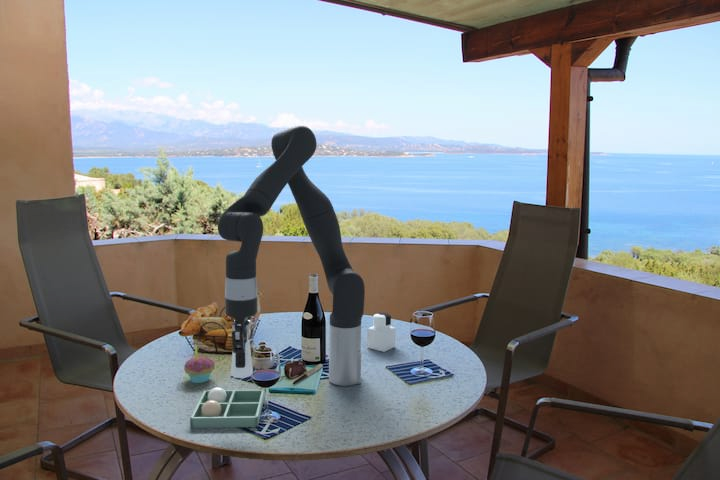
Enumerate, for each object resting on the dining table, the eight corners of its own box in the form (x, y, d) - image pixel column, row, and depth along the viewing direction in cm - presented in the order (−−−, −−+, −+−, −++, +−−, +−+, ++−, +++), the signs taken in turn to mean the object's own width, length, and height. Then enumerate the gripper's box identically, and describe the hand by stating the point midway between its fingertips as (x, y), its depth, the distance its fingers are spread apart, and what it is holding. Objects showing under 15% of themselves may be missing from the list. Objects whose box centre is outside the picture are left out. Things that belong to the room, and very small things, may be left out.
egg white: (228, 401, 144) (227, 384, 144) (225, 409, 140) (224, 391, 139) (209, 401, 144) (209, 384, 143) (205, 409, 139) (205, 392, 139)
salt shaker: (241, 368, 137) (240, 325, 135) (257, 372, 134) (257, 329, 133) (225, 375, 132) (225, 331, 131) (242, 380, 130) (242, 335, 128)
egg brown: (223, 414, 137) (222, 396, 136) (219, 423, 132) (219, 405, 131) (203, 414, 137) (203, 396, 136) (199, 424, 132) (198, 405, 131)
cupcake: (206, 388, 153) (205, 347, 152) (178, 385, 155) (177, 345, 153) (220, 377, 162) (219, 338, 160) (193, 374, 163) (192, 335, 162)
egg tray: (264, 400, 147) (264, 389, 146) (257, 429, 131) (257, 417, 131) (204, 400, 146) (204, 390, 145) (190, 430, 130) (190, 418, 130)
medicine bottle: (378, 342, 195) (379, 309, 193) (395, 346, 191) (396, 313, 189) (367, 347, 189) (367, 314, 187) (384, 352, 185) (385, 318, 183)
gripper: (253, 303, 124) (253, 375, 126) (260, 288, 138) (260, 353, 140) (219, 302, 123) (220, 375, 126) (230, 287, 137) (231, 353, 140)
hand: (241, 363), depth 133 cm, fingers closed on salt shaker, 4 cm apart
